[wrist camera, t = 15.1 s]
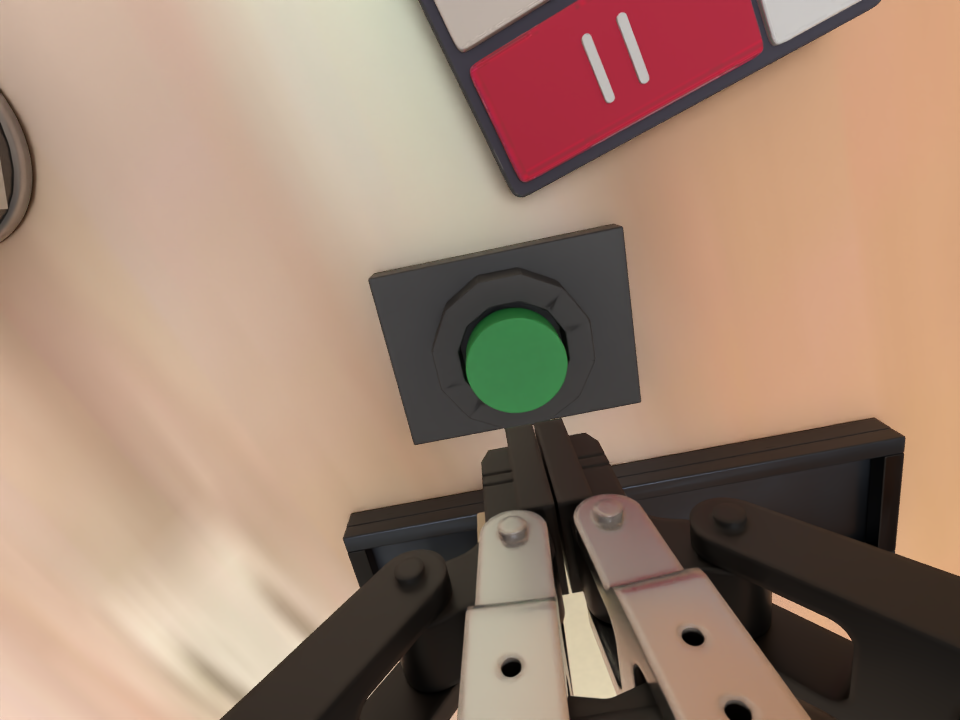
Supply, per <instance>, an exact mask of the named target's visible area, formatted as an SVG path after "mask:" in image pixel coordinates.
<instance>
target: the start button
mask: <svg viewBox="0 0 960 720" xmlns="http://www.w3.org/2000/svg"><path fill="white" fill-rule="evenodd" d="M567 367H568V361H567V354H566V350H565V347H564V345H563V343H562V341H561V339H560V338H559V336H558V334H557V332H556V330H555V328H554V327H553V326H552V324H551V323H550V322H549V321H548V320H547V319H546V318H544V317H543V316H542V315H540V314H538V313H537V312H534V311H532V310H529V309H525V308H505V309H501V310H498V311H495V312H493V313H491V314H489V315H488V316H486V317H485V318H484V319H482V320H481V321H480V322H479V323H478V324H477V325H476V327H475V328H474V329H473V331H472V333H471V335H470V337H469V339H468V343H467V348H466V374H467V379H468V382H469V384H470V387H471V389H472V390H473V392H474V393H475V394H476V396H477V397H478V398H479V399H480V400H481V401H482V402H484V403H485V404H487V405H488V406H490V407H492V408H494V409H496V410H499V411H503V412H508V413H523V412H528V411H532V410H534V409H537V408H539V407H541V406H543V405H544V404H546V403H547V402H549V401H550V400H551V399H552V398H553V397H554V396H555V395H556V394H557V393H558V391H559V390H560V388H561V387H562V385H563V383H564V380H565V377H566V374H567Z"/></svg>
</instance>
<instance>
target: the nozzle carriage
mask: <svg viewBox="0 0 960 720" xmlns="http://www.w3.org/2000/svg"><path fill="white" fill-rule="evenodd" d="M484 524H485V512H481V513H478V514H477V537H478V542H479V535H480V531H481V529H482V527H483V526H484ZM564 565H565V564H564ZM565 571H566V567H565ZM566 577H567V583H568V589H569V594H567V595H562V597H563V602H564V608H565V617H564V627H565V634H566V641H567V648H568V656H569V663H570V671H571V678H572V685H573V693H574V696H578V697H590V698H601V699H607V698H612V697H615V696H617V694H616V692H615V689H614V686H613V684H612V681H611V678H610V676H609V673H608V671H607V668H606V665H605V663H604V660H603V658H602V655H601V652H600V650H599V647H598V644H597V642H596V639H595V637H594V634H593V631H592V629H591V626H590V622H589V617H588V610H587V603H586V599H585V596H584V593H583V592H577V593H572V590H571V586H570V583H569V579H568V575H567V571H566Z"/></svg>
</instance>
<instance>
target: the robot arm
mask: <svg viewBox="0 0 960 720" xmlns="http://www.w3.org/2000/svg"><path fill="white" fill-rule="evenodd" d="M31 190H32V166H31V159H30V154H29V150H28V146H27V143H26V140H25V136H24V134H23V131H22V129H21V127H20V124H19V122H18V120H17V118H16V116H15V114H14V112H13V111H12V109H11V107H10V106H9V104H8V103H7V101H6V100H5V98H4V97H3V95H2V94H1V93H0V242H1V241H2V240H4V239H5V238H6V237H8V236H9V235H10V234H11V233H12V232H13V231H14V230H15V228H16V227H17V226H18V225H19V223H20V222H21V220H22V218H23V217H24V214H25V212H26V210H27V207H28V204H29V200H30V196H31ZM534 428H535V433H534V429H533V426H532V424H527V425H521V426H516V427H510V428H505V432H506V438H507V443H508V447H505V448H499V449H494V450H488V452H487V454H486V455H485V457H484V459H483V461H482V462H481V465H482V480H483V495H484V510H485V524H484V526H483V527H482V529H481V531H480V535H479V542H478V543H477V544H476V545H475V546H474V547H473V548H472V549H470V550H469V551H467V552H466V553H464V554H462V555H460V556H458V557H455V558H453V559H451V560H448V561H446V562H445V560H444V559H443V557H442V556H441V555H440V554H438V553H436V552H434V551H431V550H425V549H419V550H412V551H408V552H405V553H403V554H400V555H398V556H396V557H395V558H393V559H392V560H390V561H389V562H388V563H387V564H385V565H384V566H383V567H382V568H381V569H380V570H379V571H378V572H377V573H376V574H375V575H374V576H373V577H372V578H370V579H369V580H368V581H367V582H366V583H365V584H364V585H363V586H362V587H361V588H360V589H359V590H358V591H357V592H356V593H354V594H353V595H352V596H351V597H350V598H349V599H348V600H347V601H346V602H345V603H344V604H343V605H342V606H341V607H339V608H338V609H337V610H336V611H335V612H334V613H333V614H332V615H331V616H330V617H329V618H328V619H327V620H326V621H325V622H323V623H322V624H321V625H320V626H319V627H318V628H317V629H316V630H315V631H314V632H313V633H312V634H311V635H310V636H309V637H307V638H306V639H305V640H304V641H303V642H302V643H301V644H300V645H299V646H298V647H297V648H296V649H295V650H294V651H293V652H291V653H290V654H289V655H288V656H287V657H286V658H285V659H284V660H283V661H282V662H281V663H280V664H279V665H278V666H277V667H275V668H274V669H273V670H272V671H271V672H270V673H269V674H268V675H267V676H266V677H265V678H264V679H263V680H262V681H261V682H259V683H258V684H257V685H256V686H255V687H254V688H253V689H252V690H251V691H250V692H249V693H248V694H247V695H246V696H244V697H243V698H242V699H241V700H240V701H239V702H238V703H237V704H236V705H235V706H234V707H233V708H232V709H231V710H230V711H228V712H227V713H226V714H225V715H224V716H223V717H222V718H221V719H220V720H450V718H451V717H452V715H453V714H454V713H455V711H456V710H457V708H458V715H457V720H960V576H957V575H954V574H951V573H948V572H946V571H943V570H940V569H937V568H934V567H931V566H929V565H926V564H923V563H920V562H917V561H914V560H912V559H909V558H906V557H903V556H900V555H897V554H895V553H892V552H889V551H886V550H883V549H880V548H878V547H875V546H872V545H869V544H866V543H863V542H861V541H858V540H855V539H852V538H849V537H846V536H843V535H841V534H838V533H835V532H832V531H829V530H826V529H824V528H821V527H818V526H815V525H812V524H809V523H807V522H804V521H801V520H798V519H795V518H792V517H790V516H787V515H784V514H781V513H778V512H775V511H773V510H770V509H767V508H764V507H761V506H758V505H756V504H753V503H750V502H747V501H744V500H740V499H735V498H724V497H720V498H712V499H707V500H705V501H702V502H700V503H698V504H697V505H696V506H694V507H693V509H692V510H691V512H690V516H689V520H687V519H668V518H660V517H655V516H652V515H648V514H646V513H645V511H644V510H643V508H642V507H641V506H640V504H639V503H637V502H636V501H635V500H633V499H631V498H629V497H627V496H626V494H625V492H624V490H623V488H622V486H621V484H620V483H619V481H618V479H617V477H616V475H615V473H614V471H613V469H612V467H611V465H610V464H609V461H608V459H607V457H606V455H605V454H604V451H603V449H602V447H601V446H600V444H599V442H598V441H597V440H596V439H594V438H593V437H591V436H589V435H588V434H586V433H581V434H575V435H570V436H569V435H568V433H567V431H566V428H565V426H564V423H563V421H562V419H561V418H559V419H553V420H548V421H542V422H537V423H534ZM535 435H536V436H535ZM564 564H565V565H564ZM565 567H566V571H567V575H568V579H569V583H570V586H571V590H572V593H577V592H583V593H584V596H585V599H586V603H587V610H588V617H589V622H590V626H591V629H592V631H593V634H594V637H595V639H596V642H597V644H598V647H599V650H600V652H601V655H602V658H603V660H604V663H605V665H606V668H607V671H608V673H609V676H610V678H611V681H612V684H613V686H614V689H615V692H616V694H617V696H615V697H612V698H607V699H601V698H590V697H578V696H574V693H573V685H572V678H571V671H570V663H569V656H568V648H567V641H566V634H565V627H564V617H565V608H564V602H563V597H562V595H567V594H569V589H568V583H567V577H566V571H565ZM772 592H773V593H775V594H777V595H780V596H782V597H784V598H786V599H788V600H790V601H792V602H795V603H797V604H799V605H801V606H803V607H805V608H807V609H810V610H812V611H814V612H816V613H818V614H820V615H822V616H825V617H827V618H829V619H831V620H832V621H834V622H835V623H837V624H838V625H839V626H841V627H842V628H843V629H844V630H845V631H846V632H847V634H848V635H849V636H850V638H851V640H852V641H850V640H848V639H846V638H844V637H842V636H840V635H838V634H836V633H833V632H831V631H829V630H827V629H825V628H823V627H821V626H819V625H817V624H815V623H813V622H811V621H809V620H806V619H804V618H802V617H800V616H798V615H796V614H794V613H792V612H790V611H788V610H786V609H784V608H782V607H779V606H777V605H775V604H773V603H772ZM399 660H400V662H399V663H398V661H399ZM397 663H398V664H397ZM396 664H397V665H396ZM395 665H396V667H395V668H394V669H393V670H392V668H393V667H394V666H395ZM391 670H392V671H391ZM390 671H391V672H390ZM389 672H390V673H389ZM388 673H389V675H388V676H387V677H386V678H385V676H386V675H387V674H388ZM384 678H385V679H384ZM383 679H384V680H383ZM382 680H383V682H382V683H381V684H380V685H379V683H380V682H381V681H382ZM378 685H379V686H378ZM377 686H378V687H377ZM376 687H377V689H376V690H375V691H374V692H373V690H374V689H375V688H376ZM372 692H373V693H372ZM371 693H372V694H371ZM370 694H371V696H370V697H369V695H370ZM368 697H369V698H368ZM367 698H368V699H367Z"/></svg>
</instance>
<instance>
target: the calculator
mask: <svg viewBox="0 0 960 720" xmlns="http://www.w3.org/2000/svg"><path fill="white" fill-rule="evenodd" d="M418 1H419V3H420V5H421V7H422V9H423V11H424V13H425V15H426V17H427V19H428V21H429V23H430V25H431V28H432V30H433V32H434V34H435V36H436V38H437V40H438V42H439V44H440V46H441V48H442V50H443V52H444V54H445V56H446V59H447V61H448V63H449V65H450V67H451V69H452V71H453V73H454V75H455V77H456V79H457V81H458V83H459V85H460V87H461V90H462V92H463V94H464V96H465V98H466V100H467V102H468V104H469V106H470V108H471V110H472V112H473V114H474V116H475V118H476V120H477V123H478V125H479V127H480V129H481V131H482V133H483V135H484V137H485V139H486V141H487V143H488V145H489V147H490V149H491V151H492V154H493V156H494V158H495V160H496V162H497V164H498V166H499V168H500V170H501V172H502V174H503V176H504V178H505V180H506V182H507V184H508V186H509V188H510V190H511V192H512V193H513V194H514V195H515V196H517V197H525V196H527V195H530V194H531V193H533V192H535V191H537V190H539V189H541V188H542V187H544V186H546V185H548V184H550V183H552V182H553V181H555V180H557V179H559V178H561V177H563V176H565V175H566V174H568V173H570V172H572V171H574V170H576V169H577V168H579V167H581V166H583V165H585V164H587V163H588V162H590V161H592V160H594V159H596V158H598V157H600V156H601V155H603V154H605V153H607V152H609V151H611V150H612V149H614V148H616V147H618V146H620V145H622V144H623V143H625V142H627V141H629V140H631V139H633V138H634V137H636V136H638V135H640V134H642V133H644V132H646V131H647V130H649V129H651V128H653V127H655V126H657V125H658V124H660V123H662V122H664V121H666V120H668V119H669V118H671V117H673V116H675V115H677V114H679V113H681V112H682V111H684V110H686V109H688V108H690V107H692V106H693V105H695V104H697V103H699V102H701V101H703V100H704V99H706V98H708V97H710V96H712V95H714V94H715V93H717V92H719V91H721V90H723V89H725V88H727V87H728V86H730V85H732V84H734V83H736V82H738V81H739V80H741V79H743V78H745V77H747V76H749V75H750V74H752V73H754V72H756V71H758V70H760V69H762V68H763V67H765V66H767V65H769V64H771V63H773V62H774V61H776V60H778V59H780V58H782V57H784V56H785V55H787V54H789V53H791V52H793V51H795V50H797V49H798V48H800V47H802V46H804V45H806V44H808V43H809V42H811V41H813V40H815V39H817V38H819V37H820V36H822V35H824V34H826V33H828V32H830V31H831V30H833V29H835V28H837V27H839V26H841V25H843V24H844V23H846V22H848V21H850V20H852V19H854V18H855V17H857V16H859V15H861V14H863V13H865V12H866V11H868V10H870V9H872V8H873V7H875V6H876V5H877V4H878V3H879V2H880V1H881V0H418Z"/></svg>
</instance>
